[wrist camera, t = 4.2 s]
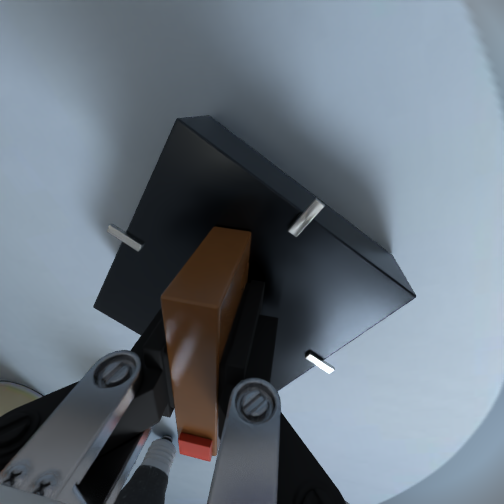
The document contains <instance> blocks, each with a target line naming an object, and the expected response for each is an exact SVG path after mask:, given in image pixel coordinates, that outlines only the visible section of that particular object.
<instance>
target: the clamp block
mask: <svg viewBox="0 0 504 504" xmlns="http://www.w3.org/2000/svg"><path fill="white" fill-rule="evenodd" d="M213 227H222V228H229V229H236V230H242V231H249V232H251V245H250V257H249V269H248V280H247V283H251V280H256V281H262V282H265V287H264V295H263V303H262V311H261V315H265V316H271V317H276V318H278V325H277V333H276V341H275V349H274V356H273V364H272V372H271V380H270V384H272V385H273V387H274V388H275V389H276V390H277V391H278V390H280V389H281V388H283V387H284V386H286V385H287V384H289V383H290V382H292V381H293V380H295V379H296V378H298V377H299V376H301V375H302V374H304V373H305V372H306V371H308V370H309V369H311V368H312V367H314V366H315V365H317V366H318V367H320V368H321V369H323V370H324V371H326V372H327V373H331V372H332V371H334V370H335V369H334V367H333V366H332V365H330V364H329V363H327V362H325V361H324V359H326V358H327V357H329V356H330V355H332V354H333V353H335V352H336V351H337V350H339V349H340V348H342V347H343V346H345V345H346V344H348V343H349V342H351V341H352V340H354V339H355V338H357V337H358V336H360V335H361V334H363V333H364V332H365V331H367V330H368V329H370V328H371V327H373V326H374V325H376V324H377V323H379V322H380V321H382V320H383V319H385V318H386V317H388V316H389V315H391V314H392V313H394V312H395V311H396V310H398V309H399V308H401V307H402V306H404V305H405V304H407V303H408V302H410V301H411V300H413V299H414V298H416V294H415V293H414V291H413V289H412V288H411V286H410V284H409V282H408V281H407V279H406V277H405V276H404V274H403V272H402V270H401V269H400V267H399V265H398V264H397V262H396V260H395V259H394V257H393V255H392V254H390V253H389V252H388V251H386V250H385V249H384V248H382V247H381V246H380V245H378V244H377V243H376V242H375V241H373V240H372V239H371V238H369V237H368V236H367V235H365V234H364V233H363V232H361V231H360V230H359V229H358V228H356V227H355V226H354V225H352V224H351V223H350V222H348V221H347V220H346V219H344V218H343V217H342V216H340V215H339V214H338V213H337V212H335V211H334V210H333V209H331V208H330V207H329V206H327V205H326V204H325V203H323V202H322V201H321V200H320V199H318V198H317V197H316V196H314V195H313V194H312V193H310V192H309V191H308V190H306V189H305V188H304V187H302V186H301V185H300V184H299V183H297V182H296V181H295V180H293V179H292V178H291V177H289V176H288V175H287V174H285V173H284V172H283V171H282V170H280V169H279V168H278V167H276V166H275V165H274V164H272V163H271V162H270V161H268V160H267V159H266V158H264V157H263V156H262V155H261V154H259V153H258V152H257V151H255V150H254V149H253V148H251V147H250V146H249V145H247V144H246V143H245V142H244V141H242V140H241V139H240V138H238V137H237V136H236V135H234V134H233V133H232V132H230V131H229V130H228V129H226V128H225V127H224V126H223V125H221V124H220V123H219V122H217V121H216V120H215V119H213V118H212V117H211V116H209V115H206V116H195V117H185V118H177V119H176V121H175V124H174V126H173V128H172V130H171V133H170V135H169V137H168V139H167V142H166V144H165V146H164V148H163V151H162V153H161V155H160V157H159V160H158V162H157V164H156V166H155V169H154V171H153V173H152V175H151V178H150V180H149V182H148V184H147V187H146V189H145V191H144V193H143V196H142V198H141V200H140V202H139V205H138V207H137V209H136V212H135V214H134V216H133V218H132V221H131V223H130V225H129V227H128V230H127V232H124V231H123V230H121V229H120V228H118V227H117V226H115V225H113V224H110V225H109V227H108V230H107V232H108V233H110V234H112V235H113V236H115V237H116V238H118V239H119V240H121V241H122V243H121V245H120V248H119V250H118V252H117V254H116V257H115V259H114V261H113V263H112V266H111V268H110V270H109V272H108V275H107V277H106V279H105V281H104V284H103V286H102V288H101V290H100V293H99V295H98V297H97V299H96V302H95V304H94V306H93V307H94V308H95V309H97V310H99V311H100V312H102V313H104V314H106V315H107V316H109V317H111V318H112V319H114V320H116V321H117V322H119V323H121V324H123V325H124V326H126V327H128V328H129V329H131V330H133V331H135V332H136V333H138V334H140V335H142V334H143V333H144V331H145V330H146V328H147V327H148V325H149V324H150V323H151V321H152V320H153V318H154V317H155V316H156V314H157V313H158V311H159V310H160V309H161V299H160V298H161V295H162V294H163V292H164V291H165V290H166V288H167V287H168V286H169V284H170V283H171V282H172V280H173V279H174V278H175V276H176V275H177V274H178V272H179V271H180V270H181V269H182V267H183V266H184V265H185V263H186V262H187V261H188V259H189V258H190V257H191V255H192V254H193V253H194V251H195V250H196V249H197V248H198V246H199V245H200V244H201V242H202V241H203V240H204V238H205V237H206V236H207V234H208V233H209V232H210V230H211V229H212V228H213Z"/></svg>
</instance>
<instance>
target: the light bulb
mask: <svg viewBox="0 0 504 504" xmlns="http://www.w3.org/2000/svg"><path fill="white" fill-rule="evenodd" d="M175 453H176V448H175V446H174V445H173V443H172V438H171V437H169V436H163V438H161V439H157V440H155V441H153V442H152V444H151V446H150V447H149V449H148V451H147V453H146V456H145V457H144V460H143V462H142V464H141V465H140V466H139V467H138V469H137V470H136V471H135V473H134V474H133V476H132V478H131V479H130V481H129V482H128V483H127V484H126V486H125V487H124V488H123V489H122V490H121V491H120V493H119V495H118V497H117V499H116V500H115V502H114V504H164V500H165V492H166V488H167V484H168V475H169V472H170V468H171V466H172V463H173V461H174V458H175Z"/></svg>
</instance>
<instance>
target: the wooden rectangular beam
mask: <svg viewBox="0 0 504 504" xmlns="http://www.w3.org/2000/svg"><path fill="white" fill-rule="evenodd" d="M250 245H251V232H249V231H242V230H236V229H229V228H222V227H213V228H212V229H211V230H210V232H209V233H208V234H207V236H206V237H205V238H204V240H203V241H202V242H201V244H200V245H199V246H198V248H197V249H196V250H195V251H194V253H193V254H192V255H191V257H190V258H189V259H188V261H187V262H186V263H185V265H184V266H183V267H182V269H181V270H180V271H179V272H178V274H177V275H176V276H175V278H174V279H173V280H172V282H171V283H170V284H169V286H168V287H167V288H166V290H165V291H164V292H163V294H162V295H161V298H160V299H161V307H162V314H163V322H164V330H165V338H166V345H167V353H168V361H169V369H170V376H171V384H172V392H173V400H174V407H175V415H176V423H177V431H178V443H179V450H180V454H182V455H186V456H190V457H194V458H198V459H202V460H206V461H211V457H212V456H216V455H217V453H218V449H219V445H220V439H219V437H218V416H219V380H220V363H221V358H222V355H223V351H224V348H225V345H226V342H227V339H228V336H229V333H230V330H231V327H232V324H233V321H234V318H235V315H236V312H237V309H238V306H239V303H240V300H241V297H242V294H243V291H244V288H245V285H246V283H247V280H248V269H249V257H250Z"/></svg>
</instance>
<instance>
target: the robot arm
mask: <svg viewBox="0 0 504 504" xmlns="http://www.w3.org/2000/svg"><path fill="white" fill-rule="evenodd" d="M264 287H265V282H262V281H256V280H251V283H246V285H245V288H244V291H243V294H242V297H241V300H240V303H239V306H238V309H237V312H236V315H235V318H234V321H233V324H232V327H231V330H230V333H229V336H228V339H227V342H226V345H225V348H224V351H223V355H222V358H221V363H220V380H219V416H218V437H219V439H220V446H219V450H218V455H217V460H216V464H215V469H214V474H213V478H212V483H211V487H210V492H209V497H208V501H207V504H349V503H347V502H346V501H345V500H344V498H343V497H342V495H341V493H340V491H339V490H338V489H337V487H336V486H335V484H334V483H333V482H332V480H331V479H330V478H329V476H328V475H327V474H326V472H325V471H324V470H323V468H322V467H321V466H320V464H319V463H318V461H317V460H316V459H315V457H314V456H313V455H312V453H311V452H310V451H309V449H308V448H307V447H306V445H305V444H304V443H303V441H302V440H301V438H300V437H299V436H298V434H297V433H296V432H295V430H294V429H293V428H292V426H291V425H290V424H289V422H288V421H287V419H286V418H285V417H284V415H283V414H282V413H281V402H280V397H279V394H278V392H277V390H276V389H275V388H274V387H273V385H272V384H270V380H271V372H272V364H273V356H274V349H275V341H276V333H277V325H278V318H276V317H271V316H265V315H261V311H262V303H263V295H264ZM174 408H175V407H174V400H173V392H172V384H171V376H170V369H169V361H168V353H167V345H166V338H165V330H164V322H163V314H162V307H161V309H160V310H159V311H158V313H157V314H156V316H155V317H154V318H153V320H152V321H151V323H150V324H149V325H148V327H147V328H146V330H145V331H144V333H143V334H142V335H141V337H140V338H139V340H138V341H137V342H136V344H135V345H134V347H133V348H132V349H131V351H128V350H120V351H115V352H112V353H109V354H107V355H106V356H104V357H102V358H101V359H99V360H98V361H97V362H96V363H95V364H94V365H93V366H92V368H91V369H90V370H89V371H88V372H87V373H86V374H85V376H84V377H83V378H82V379H81V380H80V381H78V382H76V383H74V384H71V385H69V386H67V387H64V388H62V389H59V390H57V391H55V392H52V393H50V394H48V395H45V396H43V397H41V398H38V399H36V400H34V401H31V402H29V403H26V404H24V405H22V406H19V407H17V408H15V409H13V410H11V411H9V412H7V413H5V414H4V415H2V416H1V417H0V504H114V502H115V500H116V499H117V497H118V495H119V493H120V491H121V489H122V487H123V485H124V483H125V481H126V479H127V477H128V475H129V473H130V471H131V469H132V467H133V465H134V464H135V462H136V460H137V458H138V456H139V454H140V452H141V450H142V448H143V446H144V444H145V442H146V440H147V438H148V436H149V434H150V432H151V430H152V427H153V425H155V424H157V423H158V422H160V420H161V417H162V416H166V417H171V414H172V412H173V410H174Z"/></svg>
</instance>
